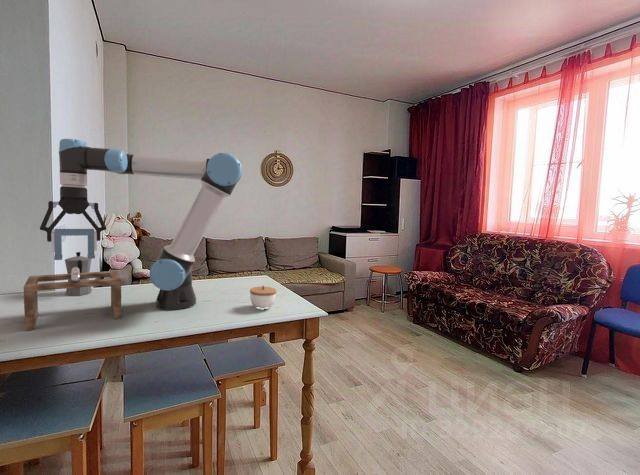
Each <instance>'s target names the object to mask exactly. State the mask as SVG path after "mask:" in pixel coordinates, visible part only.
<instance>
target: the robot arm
mask: <svg viewBox="0 0 640 475" xmlns="http://www.w3.org/2000/svg"><path fill="white" fill-rule="evenodd" d="M58 154H59V156H58V158H59V159H58V160H59V185H61V186H60V187H59V201H53V200H50V201H48V202H47V203H48V204H47V205H48V208H47V211H46V213H45V215H44V218H43V220H42V222H41V224H40V226H39V230H40V231H43V232H44V231H45V232H46V240H47V242H49V243H51V252H52V253H55V246H54V229H55V227H56V226H57V225H58V224H59V222H60V221H61V220H62V219H63V217H65V215H66V214H68V215H81V214H82V215H83V216H84V217H85V218H86V220H87V222H89V223H90V225H91V227H93V229H94V252H96V251H98V249H97V248H98V244H97V243H98V242H100V241H101V232H103V231H106V230H107V226H106V224H105V221H104V220H103V218H102V215H101V213H100V210H99V203H98V202H89V201H88V188H86V187H88V171H89V170H90V171H103V172H109V173H116V174H118V175H134V176H135V175H136V176H137V175H138V176H148V177H149V176H150V177H159V178H160V177H161V178H173V179H175V178H176V179H186V180H199V181H200V184H201V187H200V190H199V192H198V193H197V196H195V199H194V201H192V204H191V207H190V208H189V210H188V212H187V214H186V216H185V217H184V219H183V220H182V223H181V225H180V226H179V228H178V231H177V233H176V234H175V236H174V238H173V240H172V242H170V244H167V245H166V246H164V247H163V249H161V252H160V254H159V256H158V257H157V260H156V261H155V262H154V263H153V264H152V265H151V267H150V269H149V279H150V282H151V283H152V285H153V286H155V287H156V288H158V289H159V291H158V293H157V297H156V299H155V306H156V307H157V308H158V309H161V310H167V309H177V310H183V309H182V308H185V309H187V308H186V307H189V308H191V307H190V306H192V305H194V304H195V305H197V297H196V294H195V291H194V287H193V265H194V263H195V262H196V259H195V256H194V254H195V252H196V250H197V249H198V247H199V245H200V243H201V241H202V240H203V237H204V236H205V234H206V232H207V230H208V228H209V227H210V225H211V223H212V220H214V217H215V215H216V213H217V211H218V210H219V208H220V206H221V204H222V202H223V201H224V199H226V198H228V197H230V196H231V195H232V193H233V192H234V190H235V188H236V185H238V184H237V183H239V181H240V180H241V178H242V174H243V167H242V164H241V162H240V160H239V159H238V158H237V157H236V156H235V155H233V154H231V153H228V152H219V153H216V154H214V155H213V156H211V157H210V158H207V157H206V158H205V159H203V160H200V159H199V160H198V159H189V158H187V159H186V158H175V157H163V156H155V155H154V156H152V155H142V154H132V153H126V152H125V151H124V150H122V149H116V148H104V147H103V148H101V147H90V146H88V144H87V142H86V141H85V140H81V139H74V138H62V139H60V140H59V147H58ZM57 206H59V207H60V208H61V209H62V211H61V212H60V213H59V214H58V215H57V217H56V218H55V219H54V221H53V222H52V223H51V224H50V225H49V226H48V227H47V225H48V222H49V220H50V217H51V215H52V212H53V210H54V209H55V208H57ZM88 207H90V208H91V209H92V210H93V211H94V213H95V215H96V217H97V220H98V222H99V225H100V227H99V225H98V224H96V222H95V221H94V220H93V218H92V217H91V216H90V215H89V213H88V212H87V211H86V210H87V208H88ZM195 305H194V306H195ZM192 307H193V306H192Z"/></svg>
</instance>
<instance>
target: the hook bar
mask: <svg viewBox="0 0 640 475" xmlns="http://www.w3.org/2000/svg"><path fill="white" fill-rule="evenodd" d="M71 281H72V282H74V283H77V282H79V281H80V269H79V268H78V267H74V268H72V271H71Z"/></svg>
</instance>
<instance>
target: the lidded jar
mask: <svg viewBox="0 0 640 475" xmlns="http://www.w3.org/2000/svg"><path fill="white" fill-rule="evenodd" d="M249 292H250V296H249V298H250V302H251V305H252V306H253V307H254V306H255V307H260V308H265V307H270V306H271V307H272V306H273V305H274V304H275V302H276V298H277V288H274V287H272V286H266V285H262V286H254V287H251V288H250V290H249ZM255 307H254V308H255ZM271 307H270V308H271Z"/></svg>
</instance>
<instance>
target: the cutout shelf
mask: <svg viewBox="0 0 640 475" xmlns="http://www.w3.org/2000/svg"><path fill="white" fill-rule="evenodd" d="M87 278H89V280H83V281H79V282H77V283H74V282H72V281H70V282H68V280H71V274H68V273H61V274H60V273H58V274H57V273H56V274H43V275H29V276H28V278H27V280H26V282H25V284H24V285H23V305H24V307H23V308H24V310H23V311H24V312H23V314H24V331H25V332H26V331H27V332H29V331H34V329H35V326H36V322H37V319H38V317H39V305H38V302H39V301H38V292H41V291H51V290H52V291H53V290H55V291H56V290H65V289H67V288H80V287H91V288H92V287H103V286H110V307H111V311H112V315H113V318H114V320H118V319H122V278H121V276H120V275H119V272H118V271H117V270H108V271H107V270H106V271H93V272H92V271H91V272H90V271H89V272H88V273H80V279H87ZM58 281H59V282H58ZM41 282H43V283H41ZM44 282H45V283H44Z"/></svg>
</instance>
